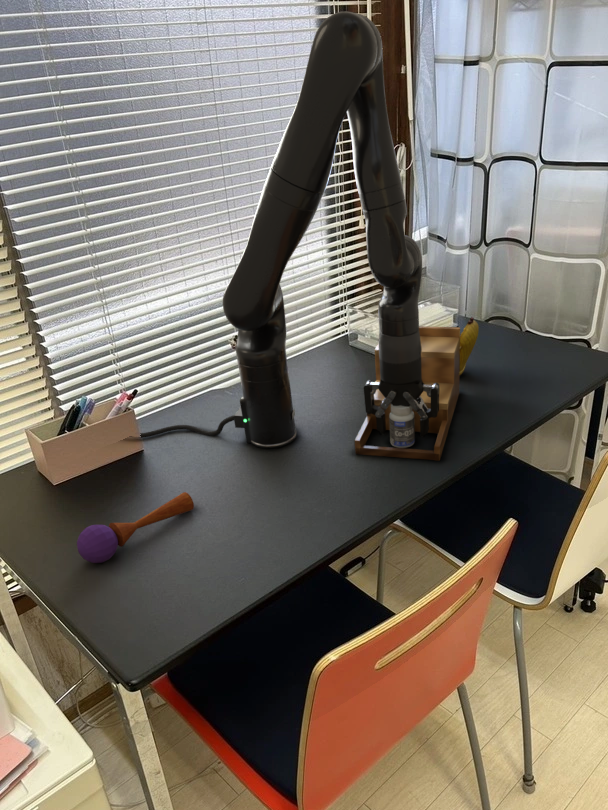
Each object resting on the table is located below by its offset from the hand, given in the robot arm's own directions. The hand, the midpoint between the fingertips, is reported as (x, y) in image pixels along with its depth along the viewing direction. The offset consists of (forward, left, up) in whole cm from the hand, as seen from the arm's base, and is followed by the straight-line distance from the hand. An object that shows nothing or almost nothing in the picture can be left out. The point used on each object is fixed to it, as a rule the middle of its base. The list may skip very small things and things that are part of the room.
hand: (403, 433), depth 135 cm
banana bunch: (+6, +31, -2) cm, 32 cm away
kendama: (-37, -36, -2) cm, 52 cm away
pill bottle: (0, 0, -2) cm, 2 cm away
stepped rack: (0, +8, -2) cm, 9 cm away
